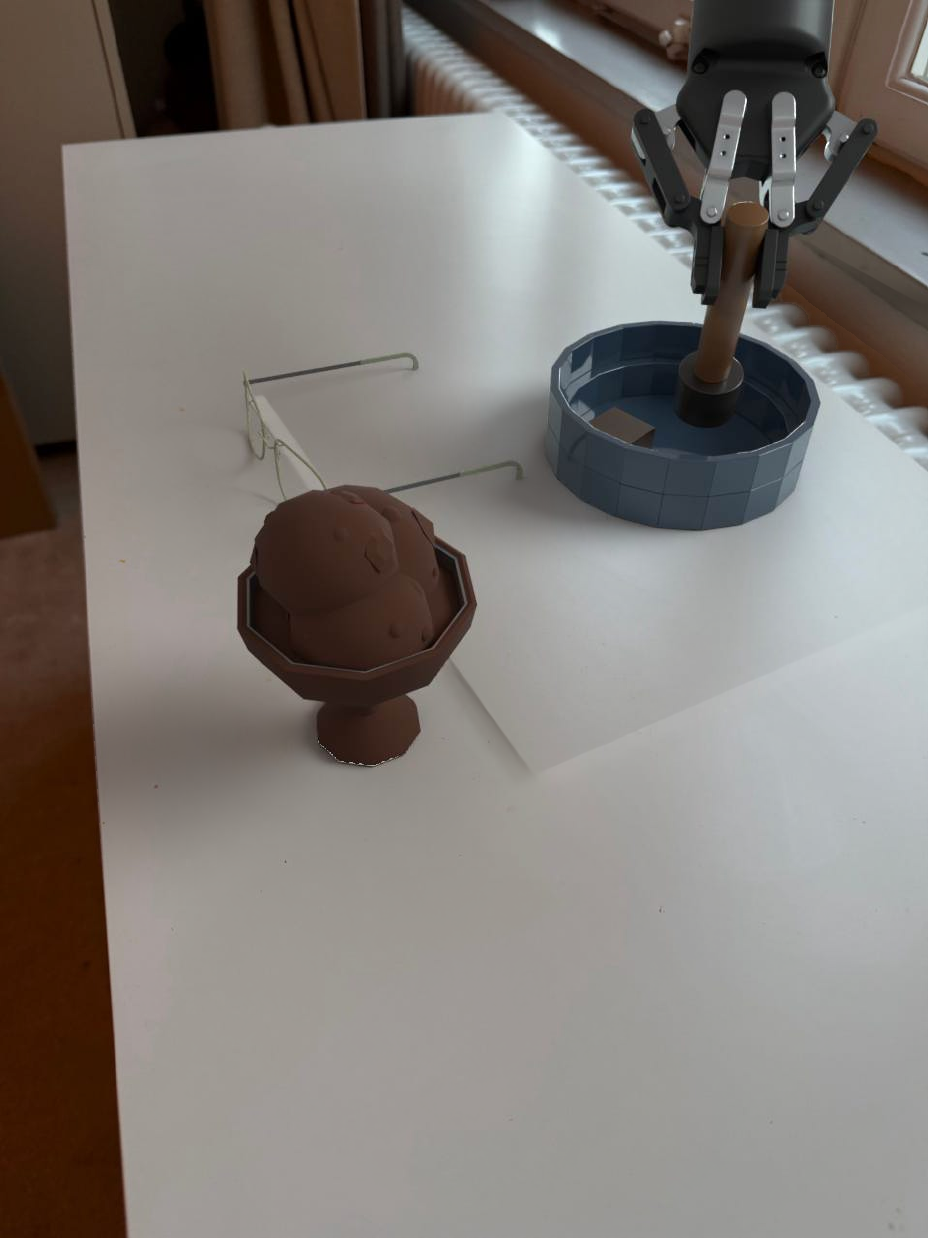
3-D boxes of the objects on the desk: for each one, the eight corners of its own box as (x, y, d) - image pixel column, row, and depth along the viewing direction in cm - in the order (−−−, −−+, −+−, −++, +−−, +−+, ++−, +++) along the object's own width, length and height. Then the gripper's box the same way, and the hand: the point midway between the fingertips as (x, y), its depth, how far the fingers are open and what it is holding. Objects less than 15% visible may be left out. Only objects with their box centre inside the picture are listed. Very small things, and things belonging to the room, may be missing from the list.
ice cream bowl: (457, 824, 47) (458, 591, 37) (231, 792, 49) (171, 559, 38) (488, 664, 55) (496, 433, 45) (292, 640, 56) (256, 410, 46)
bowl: (733, 382, 76) (749, 309, 72) (843, 519, 64) (869, 441, 60) (517, 408, 74) (520, 334, 69) (589, 556, 62) (598, 477, 57)
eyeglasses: (231, 425, 72) (220, 363, 68) (418, 376, 77) (416, 315, 73) (315, 553, 62) (306, 487, 58) (523, 486, 67) (526, 422, 63)
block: (608, 450, 68) (614, 406, 66) (648, 472, 67) (655, 427, 64) (574, 470, 67) (579, 426, 64) (614, 494, 65) (620, 449, 62)
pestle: (730, 384, 66) (780, 190, 54) (738, 428, 63) (792, 236, 52) (669, 384, 66) (706, 191, 54) (675, 428, 64) (714, 236, 52)
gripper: (642, -61, 52) (612, 270, 52) (918, -54, 50) (888, 285, 50) (631, 27, 59) (605, 316, 59) (871, 35, 58) (845, 331, 58)
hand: (736, 301), depth 55 cm, fingers closed on pestle, 2 cm apart
